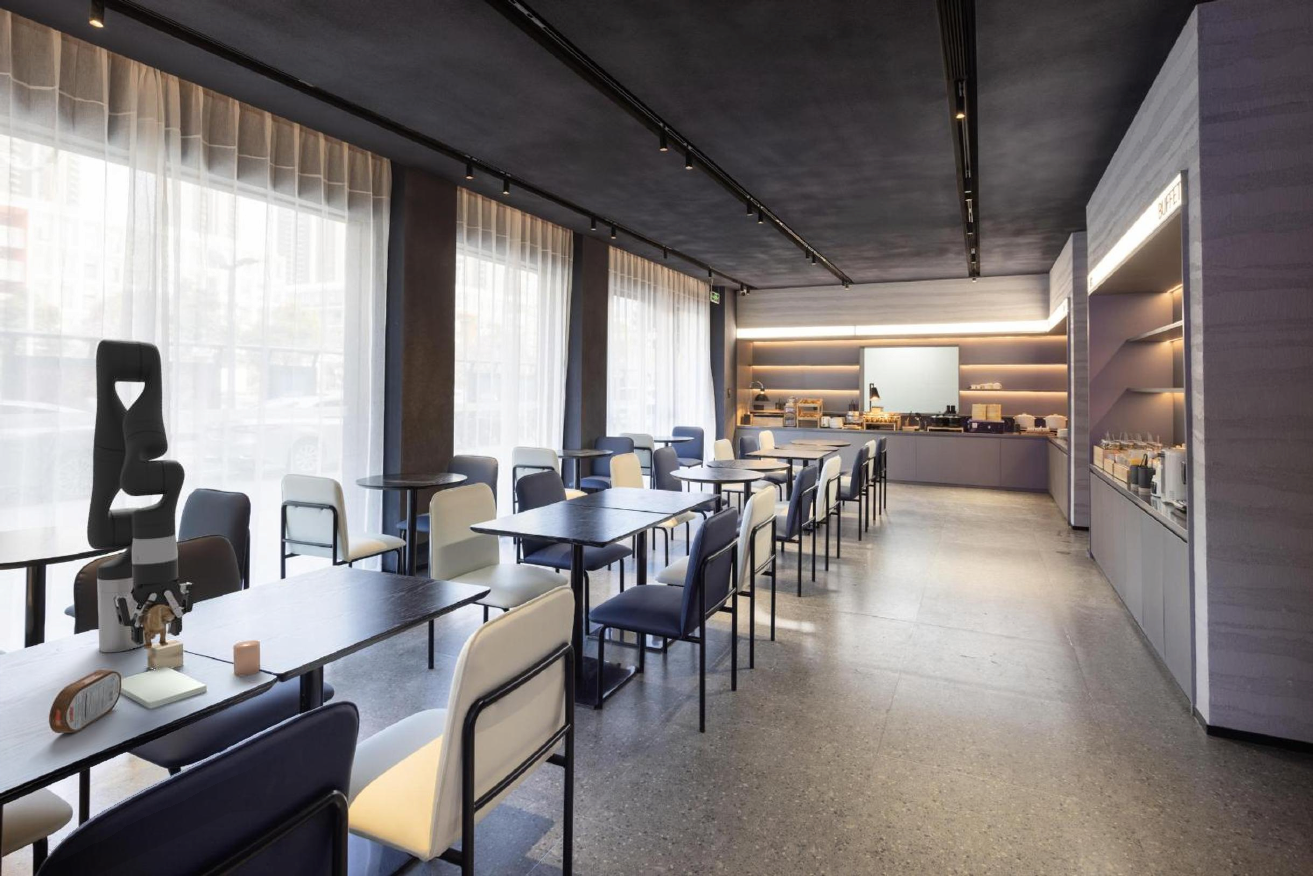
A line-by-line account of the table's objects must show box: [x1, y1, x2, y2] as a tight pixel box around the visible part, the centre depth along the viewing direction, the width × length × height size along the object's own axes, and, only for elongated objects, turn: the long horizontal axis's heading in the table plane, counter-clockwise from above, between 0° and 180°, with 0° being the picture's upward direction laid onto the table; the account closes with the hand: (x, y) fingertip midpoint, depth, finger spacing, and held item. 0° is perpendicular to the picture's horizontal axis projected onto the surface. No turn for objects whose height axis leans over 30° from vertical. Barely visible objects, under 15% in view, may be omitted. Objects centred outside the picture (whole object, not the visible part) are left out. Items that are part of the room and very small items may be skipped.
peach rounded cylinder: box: [232, 640, 261, 676], centre depth 151 cm, size 5×5×6 cm
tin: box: [48, 668, 122, 734], centre depth 127 cm, size 15×3×8 cm, turn 5°
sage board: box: [121, 667, 208, 710], centre depth 141 cm, size 18×10×1 cm, turn 57°
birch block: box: [146, 638, 184, 670], centre depth 154 cm, size 5×5×5 cm
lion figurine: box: [142, 605, 175, 650], centre depth 142 cm, size 15×5×9 cm, turn 36°
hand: (157, 639), depth 141 cm, fingers closed on lion figurine, 6 cm apart
